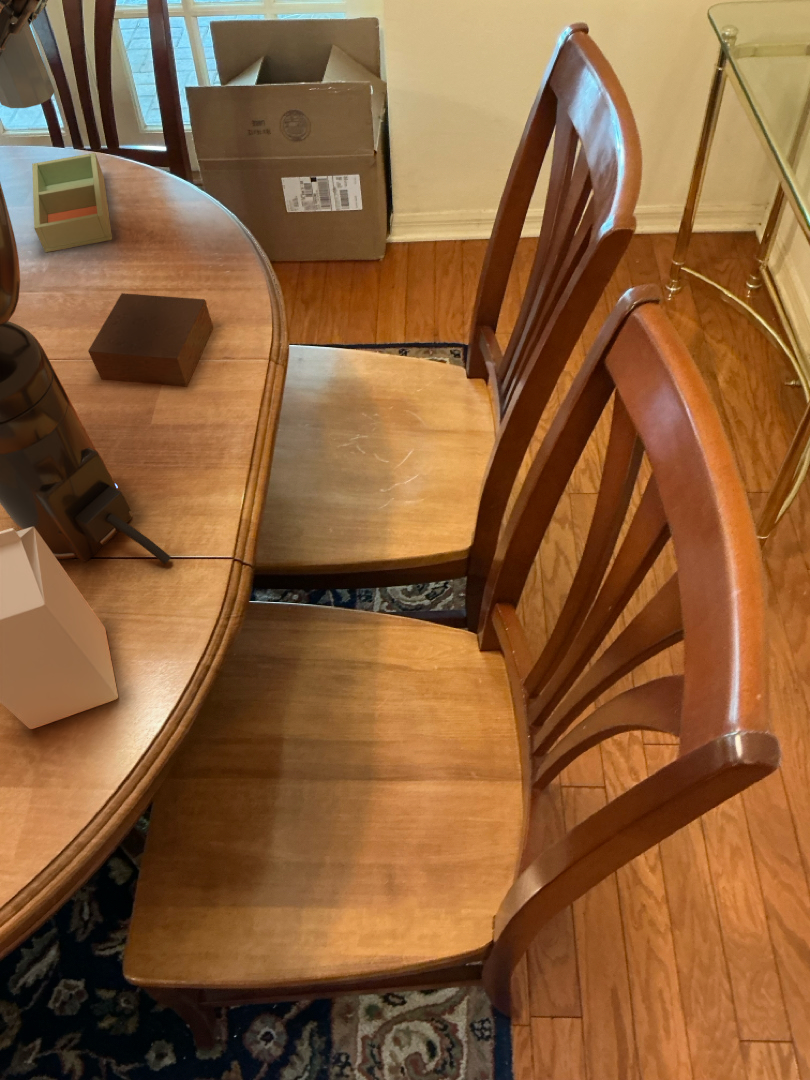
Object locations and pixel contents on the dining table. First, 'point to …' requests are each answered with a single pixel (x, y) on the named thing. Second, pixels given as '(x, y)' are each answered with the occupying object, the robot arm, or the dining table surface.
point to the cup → (23, 72)
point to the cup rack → (70, 202)
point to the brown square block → (152, 339)
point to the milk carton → (47, 637)
